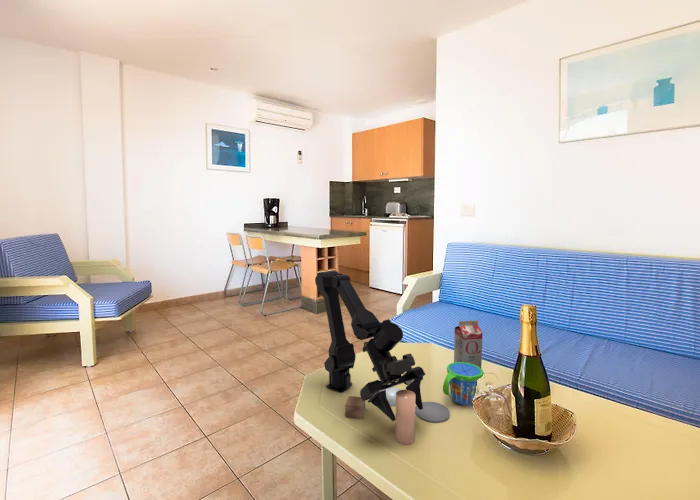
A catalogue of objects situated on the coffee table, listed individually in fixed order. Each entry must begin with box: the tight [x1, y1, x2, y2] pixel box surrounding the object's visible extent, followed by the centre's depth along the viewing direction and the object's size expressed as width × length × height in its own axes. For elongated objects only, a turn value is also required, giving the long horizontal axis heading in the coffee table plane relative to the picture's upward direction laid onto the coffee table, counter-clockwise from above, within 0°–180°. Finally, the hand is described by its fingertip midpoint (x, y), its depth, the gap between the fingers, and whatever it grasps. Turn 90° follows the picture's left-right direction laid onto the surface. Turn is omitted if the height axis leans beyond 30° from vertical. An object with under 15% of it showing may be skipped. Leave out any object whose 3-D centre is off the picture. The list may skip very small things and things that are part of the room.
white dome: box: [382, 386, 401, 407], centre depth 111 cm, size 6×6×3 cm
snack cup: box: [442, 361, 485, 407], centre depth 111 cm, size 16×10×10 cm
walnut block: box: [344, 395, 366, 420], centre depth 105 cm, size 5×5×4 cm
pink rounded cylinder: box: [394, 389, 416, 445], centre depth 93 cm, size 5×5×12 cm
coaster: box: [415, 401, 451, 424], centre depth 105 cm, size 10×10×1 cm
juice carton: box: [453, 319, 483, 369], centre depth 121 cm, size 7×7×22 cm
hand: (408, 414), depth 91 cm, fingers open, 9 cm apart
